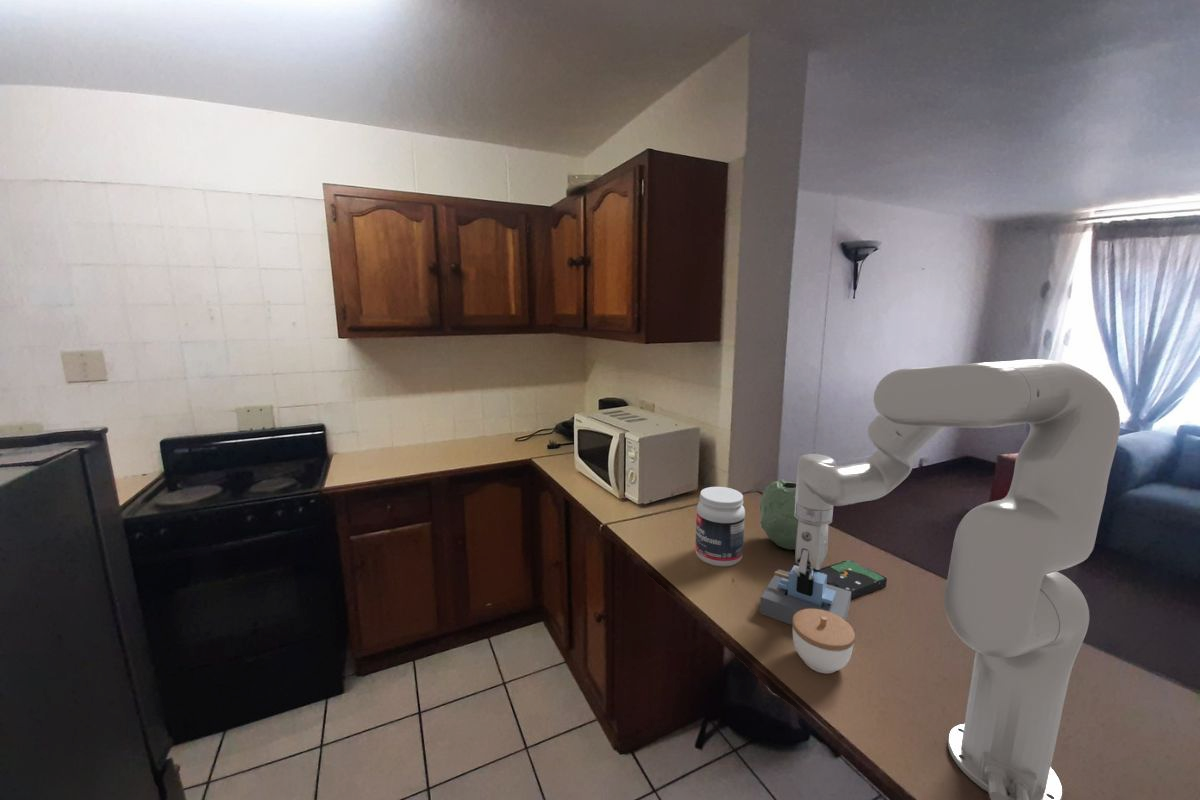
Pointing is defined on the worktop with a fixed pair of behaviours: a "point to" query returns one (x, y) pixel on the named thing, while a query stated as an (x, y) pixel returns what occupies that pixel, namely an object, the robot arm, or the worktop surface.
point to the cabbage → (780, 513)
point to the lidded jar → (822, 639)
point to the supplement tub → (720, 526)
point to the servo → (819, 587)
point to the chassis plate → (798, 602)
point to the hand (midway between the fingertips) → (807, 587)
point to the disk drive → (853, 578)
